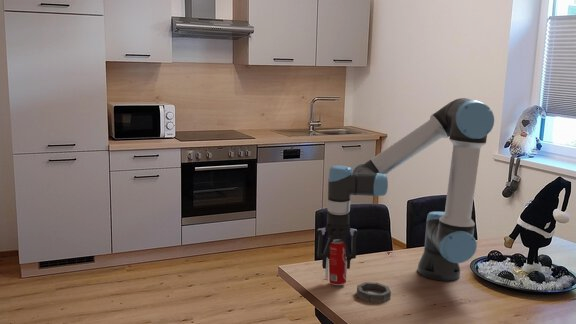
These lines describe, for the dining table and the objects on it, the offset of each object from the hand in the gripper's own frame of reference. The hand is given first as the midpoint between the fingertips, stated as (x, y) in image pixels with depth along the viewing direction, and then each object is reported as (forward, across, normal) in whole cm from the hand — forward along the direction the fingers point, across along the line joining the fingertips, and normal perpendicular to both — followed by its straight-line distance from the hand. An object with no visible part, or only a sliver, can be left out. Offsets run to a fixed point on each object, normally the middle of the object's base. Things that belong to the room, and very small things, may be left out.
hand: (335, 277), depth 192 cm
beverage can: (+2, 0, 0) cm, 2 cm away
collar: (+3, -12, +9) cm, 15 cm away
